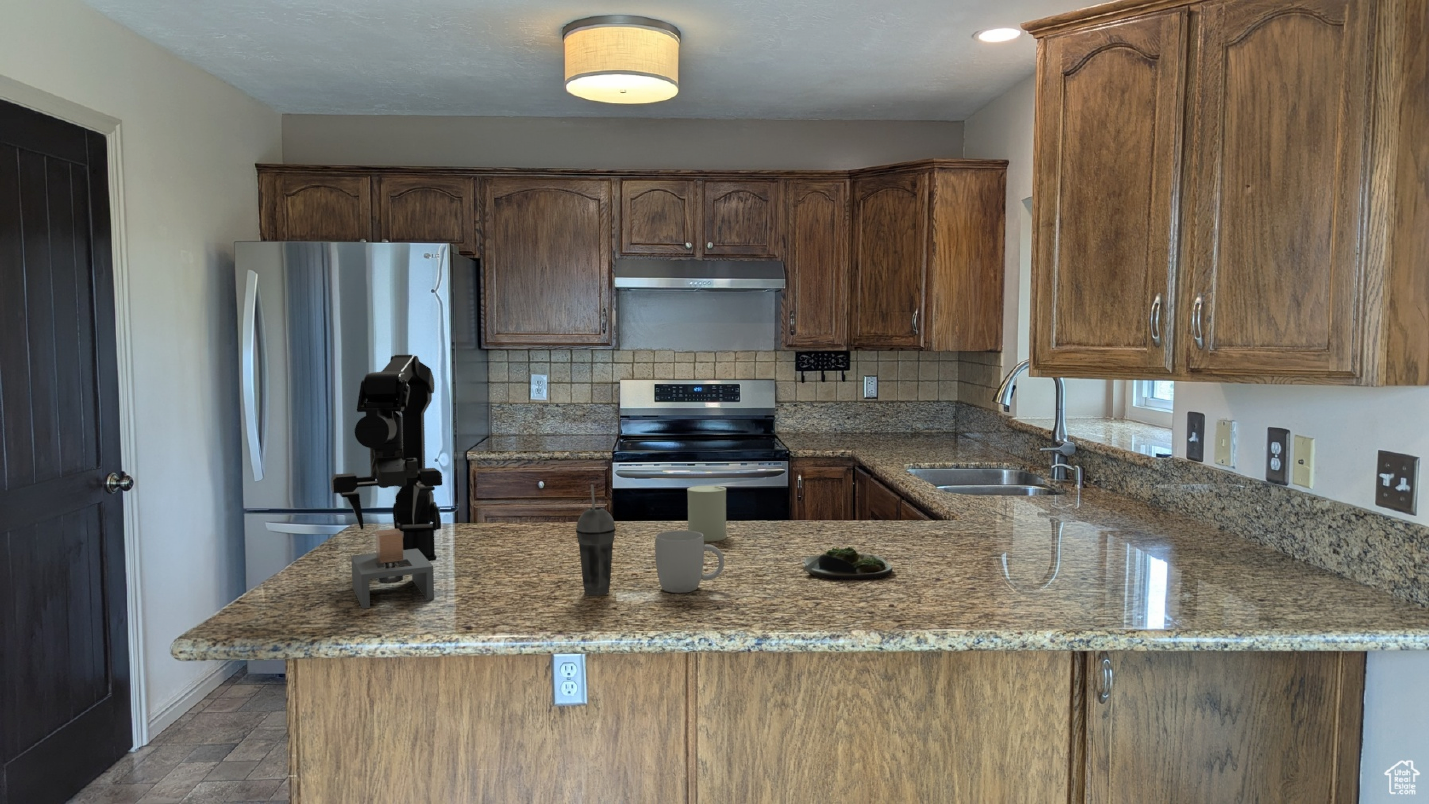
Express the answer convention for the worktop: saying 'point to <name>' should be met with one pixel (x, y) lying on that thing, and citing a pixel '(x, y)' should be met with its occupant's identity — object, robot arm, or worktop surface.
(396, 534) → the brown and silver block
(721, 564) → the mug
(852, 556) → the salad plate
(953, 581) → the worktop surface
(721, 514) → the can
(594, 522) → the beverage cup
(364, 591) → the keyhole plate
